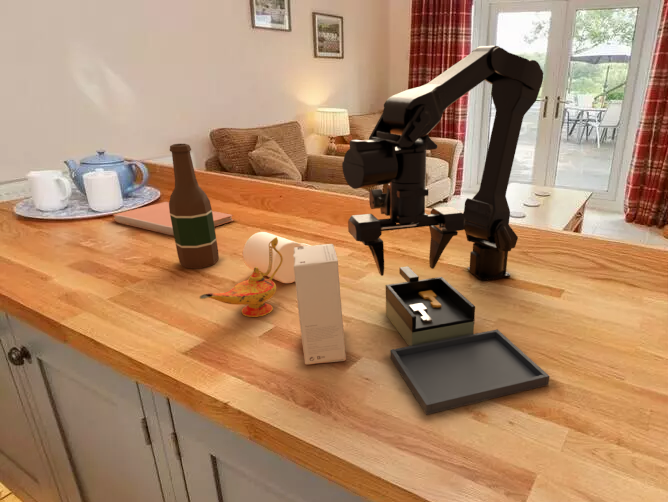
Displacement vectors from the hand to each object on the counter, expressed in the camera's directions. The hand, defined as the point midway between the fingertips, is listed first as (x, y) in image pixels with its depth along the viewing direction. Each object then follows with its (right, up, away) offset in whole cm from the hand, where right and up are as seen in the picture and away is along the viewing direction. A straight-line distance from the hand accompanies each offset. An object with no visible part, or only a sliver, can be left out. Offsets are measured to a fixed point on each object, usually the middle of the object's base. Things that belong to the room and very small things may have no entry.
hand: (407, 271), depth 84 cm
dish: (+2, -5, -5) cm, 8 cm away
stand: (+3, -9, -6) cm, 11 cm away
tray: (+8, -14, -17) cm, 24 cm away
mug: (-24, 0, +14) cm, 28 cm away
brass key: (+4, -5, -5) cm, 8 cm away
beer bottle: (-43, +2, +19) cm, 47 cm away
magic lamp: (-26, -7, -2) cm, 27 cm away
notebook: (-62, +14, +46) cm, 78 cm away
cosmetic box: (-12, -12, -12) cm, 21 cm away
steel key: (+2, -7, -10) cm, 12 cm away
